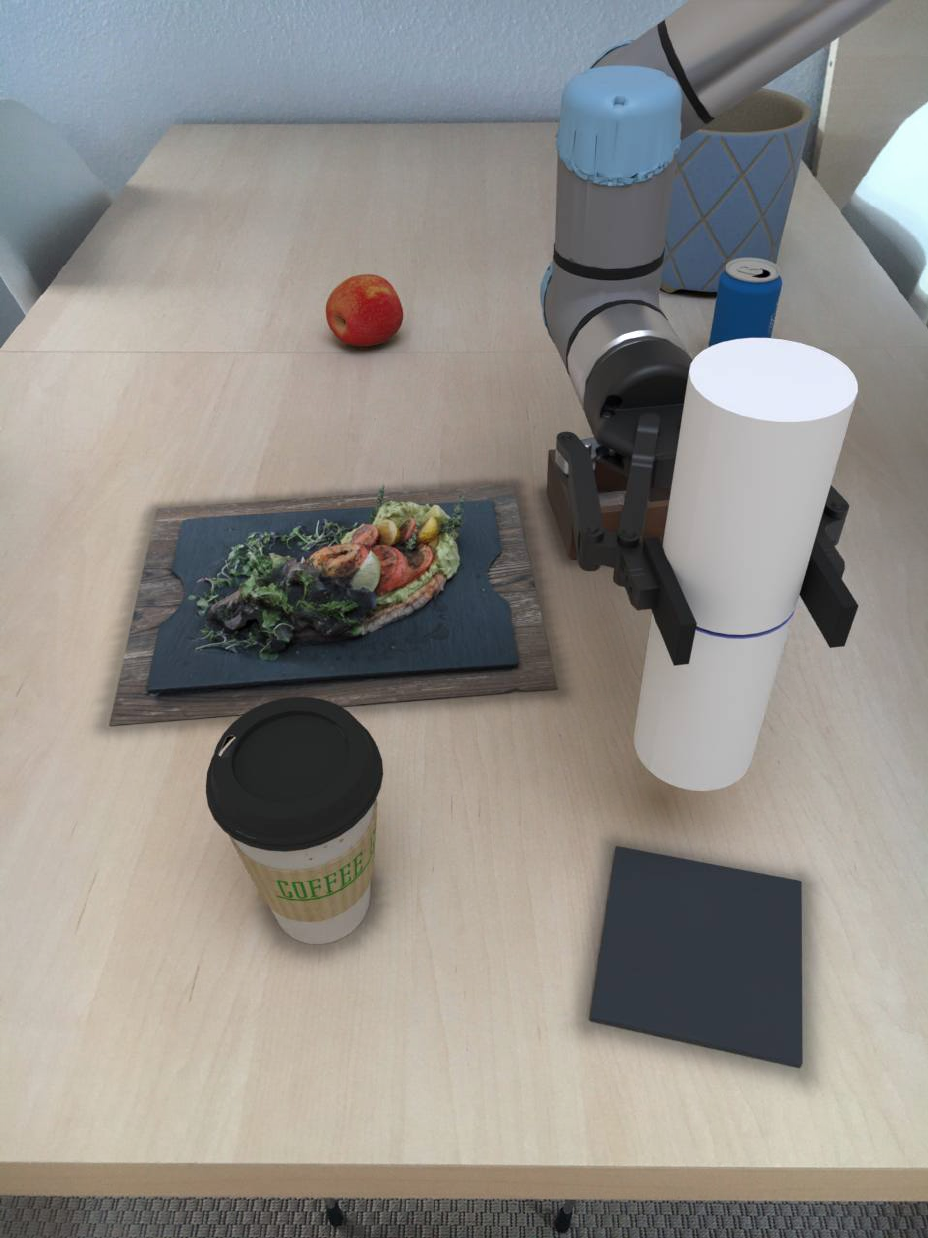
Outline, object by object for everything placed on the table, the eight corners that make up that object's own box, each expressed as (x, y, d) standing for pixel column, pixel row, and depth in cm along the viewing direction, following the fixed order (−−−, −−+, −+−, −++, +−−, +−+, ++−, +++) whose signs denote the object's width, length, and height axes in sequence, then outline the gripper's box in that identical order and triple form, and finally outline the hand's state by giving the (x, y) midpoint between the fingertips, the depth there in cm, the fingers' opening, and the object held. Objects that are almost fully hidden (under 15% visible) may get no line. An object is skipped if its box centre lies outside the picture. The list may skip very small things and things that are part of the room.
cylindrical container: (692, 811, 57) (779, 441, 39) (609, 734, 61) (655, 369, 44) (778, 753, 60) (893, 384, 42) (692, 683, 64) (766, 322, 47)
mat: (799, 885, 64) (801, 880, 64) (800, 1068, 56) (802, 1064, 55) (615, 850, 66) (616, 845, 66) (589, 1021, 58) (590, 1016, 58)
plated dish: (511, 480, 98) (512, 416, 92) (563, 692, 78) (568, 626, 72) (152, 512, 95) (132, 448, 90) (110, 739, 75) (82, 674, 70)
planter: (644, 305, 124) (663, 136, 110) (621, 243, 138) (635, 86, 124) (795, 300, 124) (833, 131, 111) (757, 238, 138) (786, 81, 124)
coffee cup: (378, 983, 60) (355, 842, 50) (224, 958, 61) (170, 816, 51) (412, 847, 67) (398, 698, 57) (273, 827, 68) (234, 678, 58)
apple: (412, 347, 117) (408, 283, 112) (348, 366, 114) (341, 301, 109) (383, 321, 122) (377, 258, 117) (320, 338, 120) (312, 274, 114)
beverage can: (751, 391, 109) (772, 287, 100) (696, 376, 111) (712, 273, 103) (771, 366, 113) (793, 263, 104) (717, 352, 115) (734, 251, 107)
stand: (754, 471, 98) (764, 427, 94) (794, 534, 90) (806, 490, 87) (546, 493, 96) (548, 449, 92) (569, 559, 89) (572, 515, 85)
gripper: (777, 425, 67) (940, 667, 51) (484, 453, 65) (554, 712, 49) (800, 322, 62) (991, 554, 45) (484, 349, 60) (562, 600, 44)
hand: (764, 635), depth 47 cm, fingers closed on cylindrical container, 7 cm apart
